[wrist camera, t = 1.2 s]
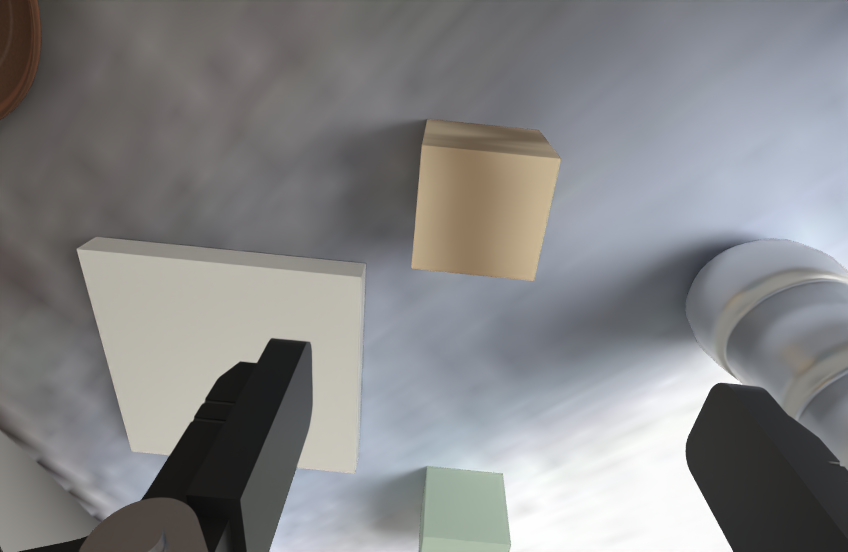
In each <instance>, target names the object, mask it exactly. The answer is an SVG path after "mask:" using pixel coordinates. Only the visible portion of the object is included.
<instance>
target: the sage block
mask: <svg viewBox="0 0 848 552" xmlns="http://www.w3.org/2000/svg"><path fill="white" fill-rule="evenodd" d="M510 547H511V541H510V532H509V523H508V514H507V506H506V497H505V488H504V480H503V474H502V473H492V472H481V471H471V470H461V469H451V468H441V467H431V466H427V471H426V478H425V486H424V494H423V501H422V509H421V518H420V536H419V552H509V551H510Z"/></svg>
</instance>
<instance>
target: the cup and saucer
mask: <svg viewBox="0 0 848 552" xmlns="http://www.w3.org/2000/svg"><path fill="white" fill-rule="evenodd" d="M40 48H41V23H40V14H39V7H38V2H37V0H0V120H1V119H2V118H4V117H6V116H7V115H8V114H9V113H10V112H12V111H13V110H14V109H15V108H16V107H17V106H18V104H19V103H20V102H21V101H22V100H23V98H24V97H25V95H26V94H27V92H28V90H29V89H30V86H31V84H32V82H33V80H34V77H35V74H36V71H37V67H38V62H39V57H40Z"/></svg>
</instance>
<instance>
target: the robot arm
mask: <svg viewBox="0 0 848 552" xmlns="http://www.w3.org/2000/svg"><path fill="white" fill-rule="evenodd" d="M312 408H313V381H312V347H311V343H310V342H308V341H298V340H288V339H278V338H271V339H270V340H269V342H268V343H267V345H266V347H265V349H264V351H263V353H262V354H261V356H260V358H259V360H258V362H257V363H252V362H241V361H240V362H239V363H237V364H236V365H235V366H233V367H232V368H231V369H229V370H228V371H227V372H225V373H224V374H223V375H221V376H220V377H219V378H218V379H217V381H216V382H215V384H214V385H213V387H212V389H211V390H210V392H209V393H208V395H207V397H206V398H205V402H204V403H202V405H201V406H200V408H199V409H198V411H197V413H196V414H195V416H194V420H193V422H192V421H191V422H190V424H189V425H188V427H187V429H186V430H185V432H184V433H183V435H182V437H181V438H180V440H179V441H178V443H177V445H176V446H175V448H174V449H173V451H172V453H171V454H170V456H169V457H168V459H167V461H166V462H165V464H164V465H163V467H162V469H161V470H160V472H159V473H158V475H157V477H156V478H155V480H154V481H153V483H152V485H151V486H150V488H149V489H148V491H147V492H146V494H145V495H144V497H143V498H142V499H141V500H140V501H138V502H135V503H132V504H130V505H128V506H125V507H123V508H121V509H120V510H118V511H116V512H115V513H113V514H111V515H110V516H109V517H107V518H106V519H105V520H103V521H102V522H101V523H100V524H99V525H98V526H97V527H96V528H95V529H94V530H93V531H92V532H91V533H90V535H89V536H86V537H84V538H81V539H77V540H73V541H69V542H64V543H60V544H54V545H50V546H44V547H39V548H34V549H29V550H24V551H19V552H269V550H270V547H271V544H272V541H273V538H274V535H275V532H276V529H277V526H278V523H279V520H280V516H281V513H282V510H283V507H284V504H285V501H286V498H287V495H288V492H289V489H290V486H291V483H292V480H293V477H294V474H295V471H296V468H297V465H298V462H299V459H300V455H301V452H302V449H303V446H304V443H305V440H306V437H307V434H308V431H309V427H310V422H311V416H312ZM686 460H687V464H688V467H689V470H690V472H691V474H692V476H693V478H694V479H695V481H696V483H697V485H698V487H699V489H700V491H701V492H702V494H703V496H704V498H705V500H706V502H707V504H708V505H709V507H710V509H711V511H712V513H713V515H714V517H715V518H716V520H717V522H718V524H719V526H720V528H721V530H722V531H723V533H724V535H725V537H726V539H727V541H728V543H729V544H730V546H731V548H732V550H733V552H848V470H847V469H846V468H845V466H840V461H839V460H838V459H837V457H836V456H835V455H834V454H833V453H832V452H831V451H830V450H829V448H828V447H827V446H826V445H825V444H824V443H823V442H822V441H821V439H820V438H819V437H818V436H816V435H815V434H814V433H812V432H811V431H810V430H808V429H807V428H806V427H804V426H803V425H801V424H800V423H799V422H797V421H796V420H795V419H793V418H792V417H791V416H788V414H787V413H786V412H785V411H784V410H783V409H782V407H781V406H780V405H779V404H778V403H777V402H776V400H775V399H774V398H773V397H772V396H771V395H770V393H769V392H768V391H767V390H765V389H764V388H762V387H758V386H749V385H738V384H728V383H718V384H716V385H714V386H713V387H712V389H711V390H710V392H709V394H708V396H707V398H706V400H705V403H704V405H703V407H702V409H701V411H700V413H699V415H698V417H697V419H696V421H695V424H694V426H693V428H692V430H691V432H690V434H689V436H688V439H687V442H686ZM0 552H3V551H2V549H1V547H0Z"/></svg>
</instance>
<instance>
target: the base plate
mask: <svg viewBox="0 0 848 552" xmlns="http://www.w3.org/2000/svg"><path fill="white" fill-rule="evenodd" d="M77 253H78V256H79V260H80V264H81V267H82V271H83V275H84V278H85V282H86V286H87V289H88V293H89V297H90V300H91V304H92V308H93V311H94V315H95V319H96V322H97V326H98V330H99V333H100V337H101V341H102V344H103V348H104V351H105V355H106V359H107V362H108V366H109V370H110V373H111V377H112V381H113V384H114V388H115V392H116V395H117V399H118V403H119V406H120V410H121V414H122V417H123V421H124V425H125V428H126V432H127V436H128V439H129V443H130V447H131V450H132V452H141V453H151V454H162V455H170V454H171V453H172V451H173V449H174V448H175V446H176V445H177V443H178V441H179V440H180V438H181V437H182V435H183V433H184V432H185V430H186V429H187V427H188V425H189V424H190V422H191V421H192V422H193V420H194V416H195V414H196V413H197V411H198V409H199V408H200V406H201V405H202V403H204V402H205V398H206V397H207V395H208V393H209V392H210V390H211V389H212V387H213V385H214V384H215V382H216V381H217V379H218V378H219V377H220V376H221V375H223V374H224V373H225V372H227V371H228V370H229V369H231V368H232V367H233V366H235V365H236V364H237V363H239V362H240V361H241V362H252V363H257V362H258V360H259V358H260V356H261V354H262V353H263V351H264V349H265V347H266V345H267V343H268V342H269V340H270V339H271V338H278V339H288V340H298V341H308V342H310V343H311V347H312V381H313V408H312V416H311V422H310V427H309V431H308V434H307V437H306V440H305V443H304V446H303V449H302V452H301V455H300V459H299V462H298V465H297V468H303V469H313V470H323V471H334V472H344V473H354V474H355V472H356V467H357V462H358V457H359V442H360V414H361V386H362V359H363V331H364V304H365V276H366V264H365V263H355V262H345V261H335V260H325V259H315V258H305V257H295V256H285V255H275V254H265V253H255V252H245V251H235V250H225V249H214V248H204V247H194V246H184V245H174V244H164V243H154V242H144V241H134V240H124V239H114V238H104V237H95V238H93V239H92V240H90V241H88V242H87V243H85V244H84V245H82V246H80V247H79V248H77Z"/></svg>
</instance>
